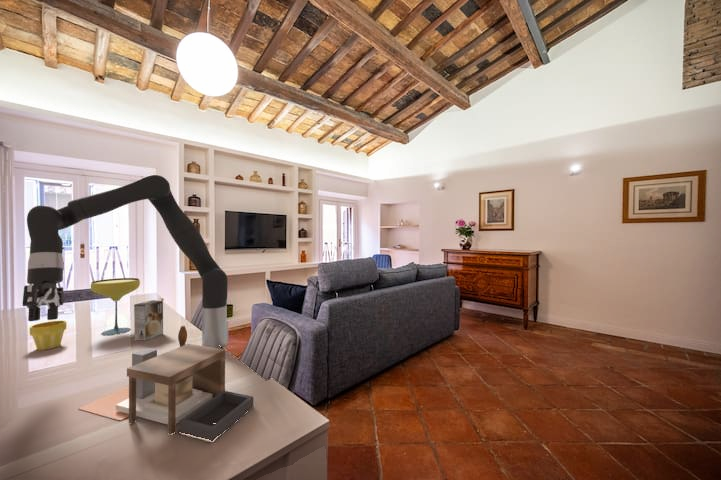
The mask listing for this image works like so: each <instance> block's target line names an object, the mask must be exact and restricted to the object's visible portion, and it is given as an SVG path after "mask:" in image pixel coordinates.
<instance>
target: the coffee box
mask: <svg viewBox="0 0 721 480" xmlns="http://www.w3.org/2000/svg"><path fill="white" fill-rule="evenodd" d="M133 307H134V308H133V313H134V315H133V316H134V317H133V318H134V322H133V323H134V340H135V339H136V341H148V340H151V339H153V338H156V337H158V335H159V336H161V335H163V334H164V300H149V301H148V300H147V301H143V302H139V303H135V304H134V305H133Z"/></svg>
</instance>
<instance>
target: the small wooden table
mask: <svg viewBox="0 0 721 480" xmlns="http://www.w3.org/2000/svg"><path fill="white" fill-rule="evenodd" d="M189 375H192V389H196V390H201V391H202V392H207V393H211V394H213V398H214V397H215V396H217V395H218V394H219V393H221V392H222V391H226V349H223V348H221V349H219V348H212V347H206V346H202V345H199V344H191V343H187V344H186V343H185V345H184V346H181V347H180V346H179V347H177V348H174V349H171V350H169V351H166V352H163V353H162V354H159V355H157V356H156V357H154V358H151V359H149V360H146V361H144V362H141V363H139V364H136V365H134V366H132V365H131V366H130V367H129V366H128V367H127V368H126V377H128V386H129V417H128V424H129V423H133V424H135V423H136V422H137V416H136V378H137V379H141V380H146V381H150V382H155V383H160V384H164V385H168V424H167V429H168V431H167V433H169V434H172V433H174V432H175V433H176V424H175V411H176V382H177V381H179V380H181V379H183V378H185V377H187V376H189ZM135 421H136V422H135ZM134 422H135V423H134Z"/></svg>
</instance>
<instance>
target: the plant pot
mask: <svg viewBox="0 0 721 480" xmlns="http://www.w3.org/2000/svg"><path fill="white" fill-rule="evenodd" d="M66 330H67V321H66V320H49V321H44V322H39V323H35V324H32V325H31V326H29V336H32V339H33V341H34V344H35V347H36V350H38V351H44V350H50V349H54V348H57V347H60V346H61V344H62V341H63V337H64V332H65V331H66Z"/></svg>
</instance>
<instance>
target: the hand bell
mask: <svg viewBox="0 0 721 480" xmlns="http://www.w3.org/2000/svg"><path fill="white" fill-rule="evenodd" d="M177 337H178V338H177V339H178V343H179V347H181V346H184V345H186V342H187V339H188V331H187V329H186V326H185V325H182V326H180V329H179V331H178V334H177Z"/></svg>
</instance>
